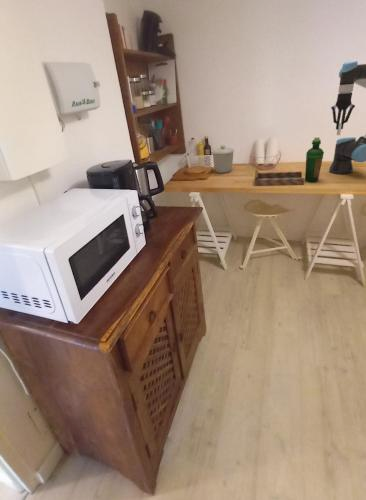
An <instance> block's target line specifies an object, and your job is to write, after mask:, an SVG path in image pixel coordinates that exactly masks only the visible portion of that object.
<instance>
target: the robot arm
mask: <svg viewBox="0 0 366 500" xmlns="http://www.w3.org/2000/svg"><path fill="white" fill-rule="evenodd" d="M338 77H339V78H340V79H339V86H338V94H337V98H336V102H335V104H334V105H332V106H330V108H331V110H332V119H333V120H332V121H333V123H334V124H336V125H335V130H336V136H341V131H342V130H343V129H344V125H345V123H348V121H349V119H350V117H351V114H352V112H353V110H354V109H355V107H356V105H355V104H353V103H352V97H353V92H354V91H353V90H354V85H355V84H356V85H357V86H360V87H361V88H364V89H366V63H364V64H363V63H361V64H359V63H358V61H357V60H356V61H347V62H344V63H343V64H342V67H341V69H340V70H339V72H338ZM336 109H337V113H336ZM348 109H349V110H348ZM347 110H348V111H347ZM336 114H337V115H336ZM340 120H341V121H340ZM353 162H355V163H365V162H366V134H365V135H362V136H359V138H358V139H357V138H356V137H355V136H354V137H340V138H338V139H337V140H336V143H335V147H334V154H333V161H332V162H331V164H330V166H329V169H328V172H329V173H331V174H334V175H335V174H336V175H347V174H348V175H349V174H352V173H353V170H354V167H353Z"/></svg>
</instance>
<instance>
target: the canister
mask: <svg viewBox="0 0 366 500" xmlns="http://www.w3.org/2000/svg"><path fill="white" fill-rule="evenodd" d="M211 153H212V159H213V165H214V166H213V167H214V170H215V171H216V172H217V173H218V174H227V173H229V172H231V171H232V169H233V163H234V162H233V161H234V153H235V149H234V148H232V147H226V145H225V144H221V145H220V147H217V148H215V149H213V150H212V151H211Z"/></svg>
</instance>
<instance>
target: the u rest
mask: <svg viewBox="0 0 366 500" xmlns="http://www.w3.org/2000/svg"><path fill="white" fill-rule="evenodd" d="M254 173H255V174H254V186H255V187H256V186H259V187H260V186H261V187H263V186H266V187H267V186H304V185H305V177H303V176H302V174H303V172H302V171H301V170H300V171H273V172H259V169H256V170H255V172H254Z"/></svg>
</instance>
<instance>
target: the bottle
mask: <svg viewBox="0 0 366 500" xmlns="http://www.w3.org/2000/svg"><path fill="white" fill-rule="evenodd" d="M320 138H321V137H314V139H312V141H311V144H312V147H311V148H309V149H308V150H307V152H306V154H305V173H304V181H306V182H308V183H316V182H318V181H319V179H320V178H319V177H320V173H321V168H322V163H323V159H324V153H325V152H324V150H323V149H322V148H321V147H320V145H321V143H322V141H321V139H320Z"/></svg>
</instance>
